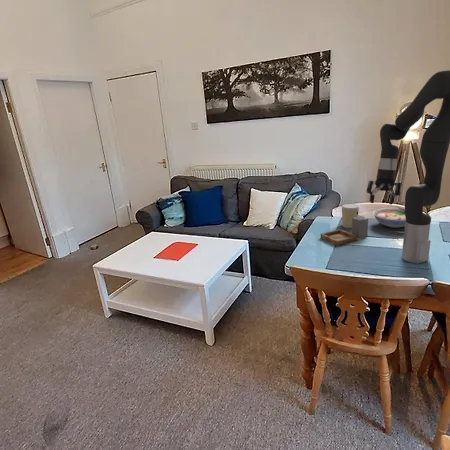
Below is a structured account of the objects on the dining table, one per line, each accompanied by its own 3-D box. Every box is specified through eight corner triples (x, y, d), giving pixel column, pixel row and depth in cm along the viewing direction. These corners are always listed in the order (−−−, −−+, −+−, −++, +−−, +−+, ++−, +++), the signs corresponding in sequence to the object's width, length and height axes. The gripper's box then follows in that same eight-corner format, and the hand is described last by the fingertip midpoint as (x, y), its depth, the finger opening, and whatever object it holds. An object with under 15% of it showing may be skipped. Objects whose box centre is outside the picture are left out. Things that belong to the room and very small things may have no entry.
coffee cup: (360, 227, 181) (361, 207, 178) (343, 228, 182) (344, 208, 178) (354, 222, 190) (355, 203, 186) (338, 223, 191) (339, 204, 187)
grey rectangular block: (367, 236, 169) (368, 215, 165) (359, 238, 167) (360, 217, 163) (359, 233, 174) (360, 213, 170) (351, 235, 172) (352, 215, 168)
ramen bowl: (364, 220, 193) (365, 207, 190) (404, 217, 191) (405, 204, 188) (382, 235, 169) (383, 220, 166) (427, 232, 167) (429, 217, 165)
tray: (357, 240, 165) (357, 236, 164) (337, 246, 160) (337, 241, 160) (339, 233, 176) (340, 229, 175) (320, 238, 172) (320, 233, 171)
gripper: (374, 168, 144) (368, 203, 147) (406, 170, 143) (400, 205, 146) (368, 167, 151) (363, 201, 155) (399, 169, 150) (393, 203, 154)
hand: (381, 203), depth 151 cm, fingers open, 8 cm apart
